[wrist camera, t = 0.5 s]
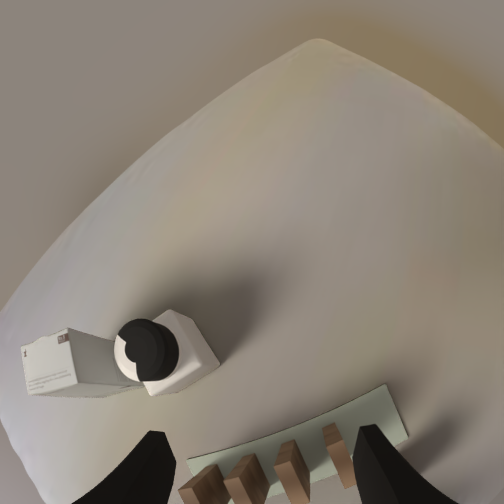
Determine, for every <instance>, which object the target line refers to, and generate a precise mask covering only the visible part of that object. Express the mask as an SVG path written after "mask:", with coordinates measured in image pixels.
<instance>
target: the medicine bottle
mask: <svg viewBox="0 0 504 504" xmlns="http://www.w3.org/2000/svg"><path fill="white" fill-rule="evenodd" d="M114 355H115V359H116V363H117V365H118V367H119V368H120V370H121V371H122V372H123V374H125V375H126V376H127V377H128V378H130V379H132V380H135V381H139V382H143V383H144V385H145V387H146V389H147V390H148V392H149V394H150V395H151V396H158V395H166V394H172V393H178V392H179V391H181V390H183V389H184V388H186V387H188V386H189V385H191V384H193V383H194V382H196V381H197V380H199V379H201V378H202V377H204V376H205V375H207V374H208V373H210V372H212V371H213V370H215V369H216V368H218V367H219V366H220V362H219V361H218V359H217V358H216V356H215V355H214V353H213V352H212V350H211V348H210V347H209V345H208V344H207V342H206V340H205V339H204V337H203V336H202V334H201V332H200V331H199V329H198V328H197V326H196V324H195V323H194V321H193V320H192V319H191V318H189V317H186V316H184V315H182V314H180V313H177V312H175V311H173V310H170V309H169V310H167V311H165V312H164V313H162V314H161V315H160V316H158V317H157V318H155V319H154V320H153V321H150V320H147V319H135V320H132V321H130V322H128V323H127V324H125V325H124V326H123V327H122V328H121V330H120V331H119V333H118V335H117V337H116V340H115V344H114Z"/></svg>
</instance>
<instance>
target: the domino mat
mask: <svg viewBox="0 0 504 504" xmlns="http://www.w3.org/2000/svg"><path fill="white" fill-rule="evenodd" d="M334 422H335V424H336V426H337V428H338V430H339V432H340V435H341V437H342V439H343V441H344V443H345V446H346V448H347V450H348V452H349V455H350V457H351V459H352V456H353V452H354V448H355V444H356V440H357V435H358V431H359V427H360V426H365V425H371V424H376V425H377V426H378V427H379V428H380V430H381V431H382V432H383V434H384V435H385V436H386V437H387V439H388V440H389V441H390V442H391V444H392V445H393V446H395V445H397V444H399V443H401V442H403V441H404V440H406V439H408V436H407V434H406V431H405V429H404V426H403V424H402V422H401V419H400V417H399V414H398V412H397V409H396V407H395V405H394V402H393V400H392V398H391V395H390V393H389V391H388V388H387V386H386V384H383V385H381V386H380V387H378V388H376V389H374V390H372V391H370V392H368V393H366V394H364V395H362V396H360V397H358V398H356V399H354V400H352V401H350V402H348V403H346V404H344V405H342V406H340V407H338V408H336V409H333V410H331V411H329V412H327V413H324V414H322V415H320V416H318V417H315V418H313V419H310V420H308V421H306V422H303V423H301V424H298V425H296V426H293V427H291V428H288V429H285V430H283V431H280V432H277V433H275V434H272V435H269V436H266V437H263V438H260V439H257V440H255V441H251V442H248V443H245V444H242V445H239V446H236V447H232V448H229V449H225V450H222V451H218V452H215V453H211V454H207V455H203V456H199V457H195V458H191V459H187V460H186V462H187V464H188V466H189V468H190V470H191V473H192V475H193V477H194V476H195V475H197V474H198V473H199V472H200V471H201V470H202V469H203V468H205V467H206V466H210V465H214V464H217V465H218V467H219V469H220V471H221V473H222V475H223V477H224V479H225V478H226V477H227V476H228V474H229V473H230V472H231V471H232V469H233V468H234V467H235V466H236V464H237V463H238V462H239V461H240V459H241V458H242V457H243V456H246V455H250V454H253V453H255V454H256V456H257V459H258V461H259V463H260V465H261V467H262V469H263V471H264V473H265V476H266V478H267V480H268V482H269V484H270V489H269V492H268V495H267V497H271V496H274V495H278V494H281V493H284V492H285V490H284V488H283V486H282V484H281V482H280V480H279V478H278V475H277V473H276V471H275V469H274V467H273V466H274V464H275V461H276V458H277V455H278V453H279V450H280V447H281V444H282V443H285V442H288V441H291V440H293V439H295V441H296V443H297V446H298V448H299V450H300V452H301V454H302V457H303V459H304V461H305V463H306V465H307V467H308V470H309V472H310V484H311V483H314V482H316V481H319V480H322V479H324V478H327V477H329V476H332V475H334V474H337V473H338V472H337V470H336V468H335V466H334V464H333V461H332V459H331V457H330V455H329V452H328V450H327V448H326V444H325V440H324V435H323V431H322V428H323V427H325V426H327V425H330V424H332V423H334ZM352 462H353V460H352ZM267 497H266V498H267ZM228 504H234V502H233V500H232V498H231V499H230V501H229V502H228Z"/></svg>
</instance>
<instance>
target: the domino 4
mask: <svg viewBox="0 0 504 504" xmlns="http://www.w3.org/2000/svg"><path fill="white" fill-rule="evenodd" d="M322 431H323V435H324V440H325V444H326V448H327V450H328V452H329V455H330V457H331V459H332V461H333V464H334V466H335V468H336V470H337V472H338V475H339V477H340V479H341V481H342V484H343V486H344V488H345V489H346V488H349V487H351V486H353V485H356V484H357V483H356V480H355V473H354V467H353V462H352V459H351V457H350V455H349V452H348V450H347V448H346V446H345V443H344V441H343V439H342V437H341V435H340V432H339V430H338V428H337V426H336V424H335V422H334V423H332V424H330V425H327V426H325V427H323V428H322Z"/></svg>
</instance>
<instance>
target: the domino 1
mask: <svg viewBox="0 0 504 504" xmlns="http://www.w3.org/2000/svg"><path fill="white" fill-rule="evenodd" d="M223 480H224V477H223V475H222V473H221V471H220V469H219V467H218V465H217V464H214V465H210V466H206V467H205V468H203V469H202V470H201V471H200V472H199V473H198V474H197V475H195V476H194V477H193V478H192V479H191V480H189V481H188V482H187V483H186V484H185V485H183V486H182V487H181V488H180V489H178V492H179V494H180V496H181V498H182V500H183V502H184V504H228V502H229V501H230V499H231V496H230V494H229V492H228V490H227V488H226V486H225V484H224V482H223Z"/></svg>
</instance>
